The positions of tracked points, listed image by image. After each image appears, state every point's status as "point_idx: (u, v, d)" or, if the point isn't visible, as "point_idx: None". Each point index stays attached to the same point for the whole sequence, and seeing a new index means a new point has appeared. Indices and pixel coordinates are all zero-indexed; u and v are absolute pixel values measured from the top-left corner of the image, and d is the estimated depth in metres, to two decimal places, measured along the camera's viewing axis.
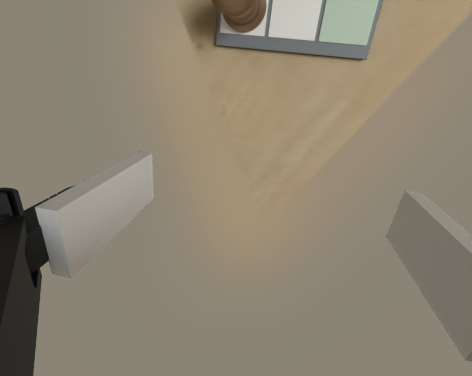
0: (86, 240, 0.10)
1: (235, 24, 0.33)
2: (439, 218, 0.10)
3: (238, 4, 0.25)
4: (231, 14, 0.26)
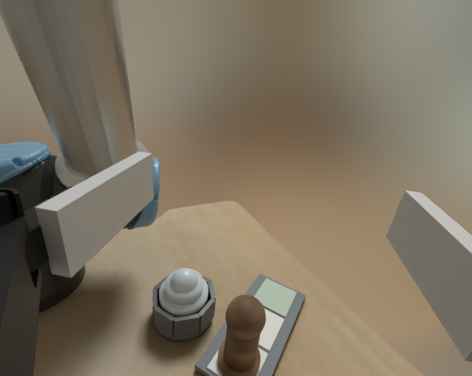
0: (86, 240, 0.10)
1: (250, 369, 0.32)
2: (439, 218, 0.10)
3: (263, 308, 0.30)
4: (264, 322, 0.30)
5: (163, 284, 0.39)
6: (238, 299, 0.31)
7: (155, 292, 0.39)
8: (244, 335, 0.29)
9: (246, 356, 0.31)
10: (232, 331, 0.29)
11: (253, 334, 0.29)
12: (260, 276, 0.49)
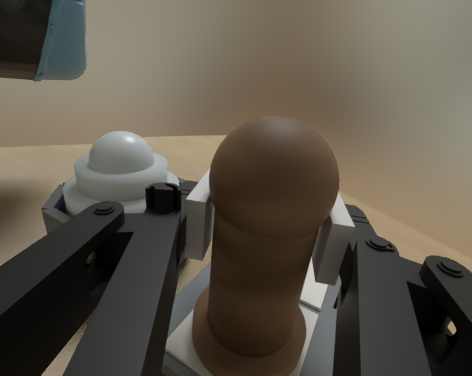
0: (209, 229, 0.11)
1: (283, 350, 0.11)
2: None
3: None
4: (338, 184, 0.09)
5: None
6: (248, 121, 0.10)
7: (62, 189, 0.18)
8: (274, 214, 0.08)
9: (273, 304, 0.10)
10: (230, 208, 0.08)
11: (306, 212, 0.08)
12: None
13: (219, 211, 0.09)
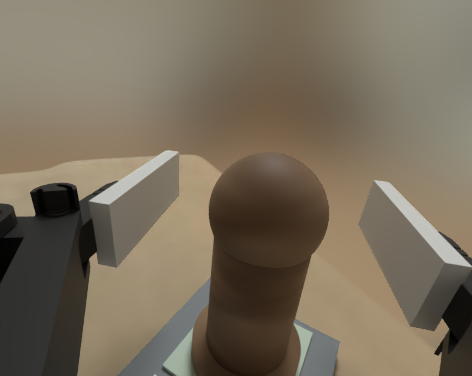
0: (128, 233, 0.10)
1: (278, 370, 0.12)
2: (398, 203, 0.11)
3: (320, 182, 0.10)
4: (328, 217, 0.10)
5: None
6: (245, 157, 0.10)
7: None
8: (268, 247, 0.09)
9: (269, 327, 0.10)
10: (228, 240, 0.09)
11: (298, 245, 0.09)
12: None
13: (218, 241, 0.10)
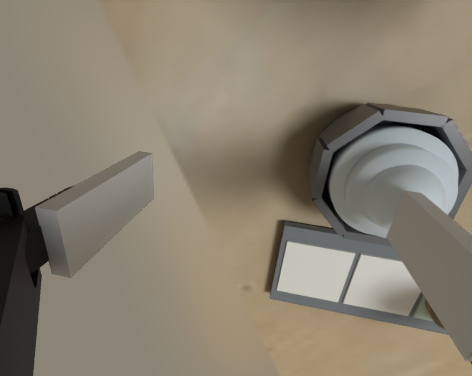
0: (86, 240, 0.10)
1: None
2: (439, 218, 0.10)
3: None
4: None
5: (391, 135, 0.15)
6: None
7: (369, 124, 0.15)
8: None
9: None
10: None
11: None
12: None
13: None
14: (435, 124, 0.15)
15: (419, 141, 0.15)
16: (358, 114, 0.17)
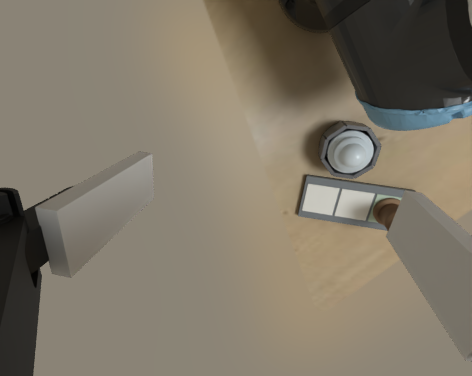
0: (86, 240, 0.10)
1: (382, 221, 0.50)
2: (439, 218, 0.10)
3: None
4: None
5: (349, 133, 0.42)
6: None
7: (342, 129, 0.42)
8: None
9: (385, 226, 0.47)
10: None
11: None
12: None
13: None
14: (364, 130, 0.42)
15: (358, 135, 0.42)
16: (338, 125, 0.44)
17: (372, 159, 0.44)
